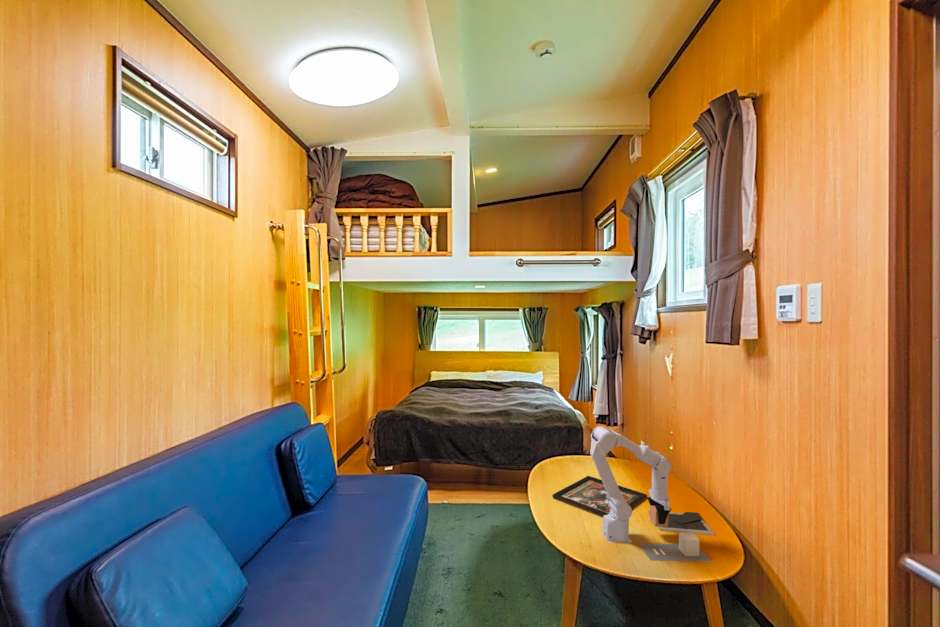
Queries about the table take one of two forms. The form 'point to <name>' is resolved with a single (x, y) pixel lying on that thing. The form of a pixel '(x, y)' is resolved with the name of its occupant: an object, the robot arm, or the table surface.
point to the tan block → (689, 544)
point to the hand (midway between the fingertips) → (658, 519)
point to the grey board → (669, 553)
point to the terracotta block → (656, 517)
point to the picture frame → (686, 523)
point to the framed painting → (594, 496)
